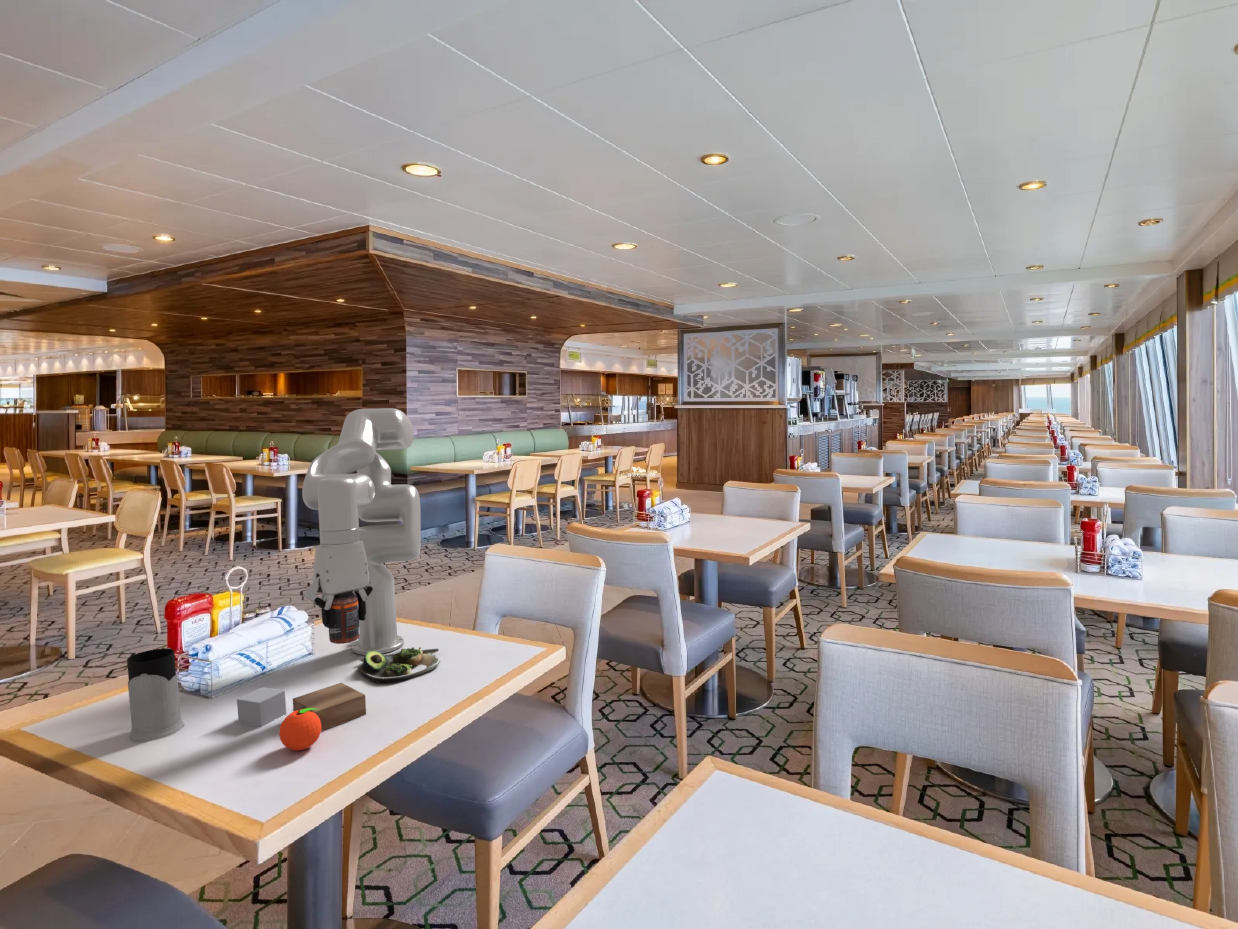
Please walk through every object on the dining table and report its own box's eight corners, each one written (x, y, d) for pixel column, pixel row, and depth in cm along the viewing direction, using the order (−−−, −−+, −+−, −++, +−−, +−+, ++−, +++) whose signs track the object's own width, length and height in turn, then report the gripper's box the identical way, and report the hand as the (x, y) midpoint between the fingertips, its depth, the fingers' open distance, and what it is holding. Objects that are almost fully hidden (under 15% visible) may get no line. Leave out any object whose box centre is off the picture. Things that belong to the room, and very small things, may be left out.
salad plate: (423, 648, 175) (422, 631, 175) (459, 665, 162) (458, 646, 162) (348, 669, 162) (347, 650, 161) (381, 690, 149) (380, 669, 148)
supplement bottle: (365, 635, 144) (363, 583, 143) (351, 645, 138) (349, 591, 137) (338, 634, 145) (336, 582, 144) (323, 644, 139) (321, 590, 138)
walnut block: (293, 718, 135) (292, 698, 135) (342, 701, 143) (341, 682, 142) (316, 732, 129) (315, 712, 128) (366, 714, 136) (365, 694, 136)
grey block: (238, 723, 134) (236, 699, 134) (264, 710, 139) (262, 687, 139) (261, 727, 132) (259, 702, 131) (286, 714, 137) (284, 690, 137)
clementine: (316, 733, 128) (314, 697, 128) (335, 744, 124) (333, 706, 124) (273, 750, 122) (270, 712, 122) (291, 762, 118) (289, 722, 117)
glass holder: (121, 744, 126) (114, 666, 125) (151, 712, 140) (145, 641, 139) (174, 737, 129) (168, 660, 127) (199, 706, 142) (193, 636, 141)
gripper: (369, 530, 149) (374, 611, 150) (289, 542, 136) (294, 630, 137) (387, 532, 144) (392, 616, 145) (306, 545, 131) (311, 637, 132)
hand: (344, 622), depth 141 cm, fingers closed on supplement bottle, 6 cm apart
